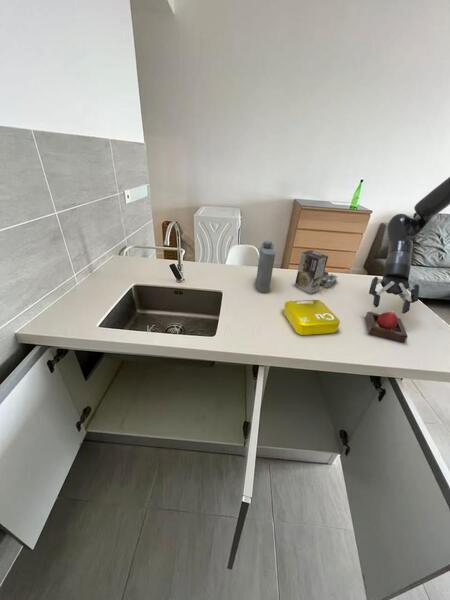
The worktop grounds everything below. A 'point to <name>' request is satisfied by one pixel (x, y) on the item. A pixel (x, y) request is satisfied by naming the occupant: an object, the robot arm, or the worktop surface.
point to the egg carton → (328, 279)
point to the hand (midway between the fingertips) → (390, 309)
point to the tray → (376, 331)
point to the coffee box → (311, 271)
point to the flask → (265, 266)
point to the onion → (387, 320)
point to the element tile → (310, 317)
